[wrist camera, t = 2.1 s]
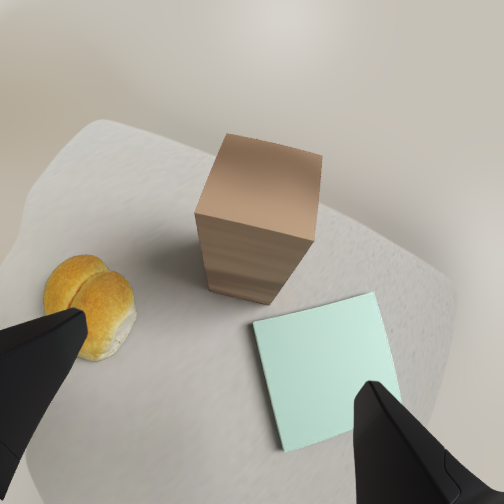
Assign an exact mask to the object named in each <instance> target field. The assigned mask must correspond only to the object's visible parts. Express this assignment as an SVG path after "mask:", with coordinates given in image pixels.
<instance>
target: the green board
mask: <svg viewBox="0 0 504 504" xmlns="http://www.w3.org/2000/svg"><path fill="white" fill-rule="evenodd" d="M252 325H253V329H254V334H255V338H256V342H257V346H258V351H259V355H260V359H261V363H262V367H263V372H264V376H265V380H266V384H267V388H268V392H269V396H270V401H271V405H272V409H273V413H274V417H275V421H276V425H277V429H278V433H279V437H280V441H281V445H282V449H283V451H284V452H289V451H292V450H295V449H299V448H302V447H305V446H308V445H311V444H314V443H317V442H320V441H323V440H326V439H328V438H331V437H334V436H336V435H339V434H342V433H344V432H346V431H349V430H351V429H353V425H354V399H355V396H356V395H357V393H358V392H359V391H360V389H361V388H362V386H363V385H364V383H365V382H366V381H368V380H372V381H379V382H380V383H381V384H382V385H383V386H384V387H385V388H386V389H387V390H388V391H389V392H390V393H391V394H392V395H393V396H394V397H395V398H396V399H397V400H398V401H399V402H400V403H401V404H402V401H401V396H400V391H399V386H398V381H397V376H396V372H395V367H394V363H393V359H392V355H391V351H390V347H389V343H388V339H387V335H386V331H385V328H384V324H383V321H382V317H381V314H380V310H379V307H378V304H377V301H376V297H375V294H374V292H371V293H367V294H364V295H360V296H357V297H353V298H350V299H346V300H343V301H339V302H335V303H331V304H328V305H324V306H320V307H316V308H312V309H308V310H304V311H300V312H296V313H291V314H287V315H283V316H278V317H274V318H269V319H265V320H260V321H255V322H253V323H252Z"/></svg>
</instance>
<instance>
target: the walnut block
mask: <svg viewBox="0 0 504 504" xmlns="http://www.w3.org/2000/svg"><path fill="white" fill-rule="evenodd" d="M321 168H322V156H321V155H318V154H314V153H311V152H307V151H304V150H300V149H296V148H292V147H288V146H284V145H280V144H275V143H271V142H267V141H262V140H258V139H253V138H248V137H242V136H238V135H232V134H226V136H225V138H224V141H223V143H222V146H221V148H220V150H219V152H218V155H217V157H216V159H215V162H214V164H213V167H212V169H211V171H210V174H209V176H208V179H207V181H206V184H205V186H204V189H203V191H202V194H201V197H200V199H199V202H198V204H197V207H196V210H195V212H194V214H195V219H196V225H197V231H198V236H199V241H200V247H201V252H202V257H203V262H204V267H205V272H206V277H207V282H208V287H209V291H212V292H216V293H220V294H224V295H228V296H232V297H236V298H240V299H244V300H249V301H253V302H257V303H262V304H266V305H270V304H271V302H272V301H273V300H274V298H275V297H276V295H277V294H278V293H279V291H280V290H281V288H282V287H283V286H284V284H285V283H286V281H287V280H288V278H289V277H290V276H291V274H292V273H293V271H294V270H295V268H296V267H297V265H298V264H299V263H300V261H301V260H302V258H303V257H304V255H305V254H306V252H307V251H308V249H309V248H310V246H311V245H312V243H313V242H314V238H315V230H316V221H317V212H318V202H319V191H320V179H321Z"/></svg>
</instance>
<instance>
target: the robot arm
mask: <svg viewBox="0 0 504 504" xmlns="http://www.w3.org/2000/svg"><path fill="white" fill-rule="evenodd" d="M87 335H88V327H87V321H86V314H85V312H84V311H83V310H81V309H78V308H76V307H72V308H69V309H66V310H62V311H59V312H56V313H53V314H50V315H47V316H43V317H40V318H37V319H34V320H31V321H28V322H25V323H21V324H18V325H15V326H12V327H9V328H6V329H3V330H0V499H1V500H3V499H4V498H5V495H6V492H7V490H8V487H9V485H10V483H11V480H12V478H13V476H14V473H15V471H16V469H17V467H18V464H19V462H20V460H21V458H22V455H23V453H24V451H25V449H26V447H27V445H28V443H29V441H30V439H31V437H32V435H33V434H34V432H35V430H36V428H37V426H38V424H39V422H40V421H41V419H42V417H43V415H44V413H45V412H46V410H47V408H48V406H49V405H50V403H51V401H52V399H53V398H54V396H55V394H56V393H57V391H58V389H59V388H60V386H61V385H62V383H63V381H64V380H65V378H66V377H67V375H68V373H69V371H70V369H71V368H72V366H73V364H74V362H75V360H76V358H77V356H78V354H79V352H80V350H81V348H82V346H83V344H84V342H85V340H86V338H87ZM353 446H354V460H355V476H356V502H357V504H504V492H499V491H496V490H493V489H491V488H490V487H489V486H487V485H486V484H485V483H484V482H482V481H481V480H480V479H479V478H477V477H476V476H475V475H474V474H472V473H471V472H470V471H469V470H468V469H466V468H465V467H464V466H463V465H462V464H461V463H460V462H459V461H458V460H457V459H455V458H454V456H452V455H451V453H450V452H449V451H448V450H447V449H445V448H444V446H443V445H442V444H441V443H440V442H439V441H438V440H437V439H436V438H435V437H434V436H433V435H432V434H431V433H430V432H429V431H428V430H427V429H426V428H425V427H424V426H423V425H422V424H421V423H420V422H419V421H418V420H417V419H416V418H415V417H414V416H413V415H412V414H411V413H410V412H409V411H408V410H407V409H406V408H405V407H404V406H403V405H402V404H401V403H400V402H399V401H398V400H397V399H396V398H395V397H394V396H393V395H392V394H391V393H390V392H389V391H388V390H387V389H386V388H385V387H384V386H383V385H382V384H381V383H380V382H379V381H372V380H368V381H366V382H365V383H364V385H363V386H362V388H361V389H360V391H359V392H358V393H357V395H356V396H355V399H354V425H353Z"/></svg>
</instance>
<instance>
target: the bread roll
mask: <svg viewBox="0 0 504 504" xmlns="http://www.w3.org/2000/svg"><path fill="white" fill-rule="evenodd" d="M72 307H76V308H78V309H81V310H83V311H84V312H85V314H86V321H87V327H88V335H87V338H86V340H85V342H84V344H83V346H82V348H81V350H80V352H79V354H78V357H80V358H83V359H86V360H89V361H100V360H103V359H105V358H107V357H109V356H112V355H113V354H114V353H115V352H116V351H117V350H118V349H119V347H120V346H121V345H122V343H123V342H124V341H125V339H126V338H127V336H128V334H129V332H130V330H131V328H132V326H133V325H134V322H135V320H136V316H137V312H136V308H135V302H134V295H133V291H132V288H131V286H130V285H129V283H128V282H127V280H126V279H125V278H124V277H123V276H122V275H120V274H118V273H116V272H111V271H110V270H109V269H108V268H107V266H106V265H105V264H104V263H103V262H102V260H101V259H99V258H97V257H95V256H92V255H79V256H74V257H71V258H69V259H67V260H66V261H64V262H63V263H62V264H60V265H59V266H58V267H57V268H56V269H55V270H54V271H53V273H52V274H51V276H50V277H49V279H48V281H47V283H46V286H45V290H44V311H45V316H47V315H50V314H53V313H56V312H59V311H62V310H66V309H69V308H72Z"/></svg>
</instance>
